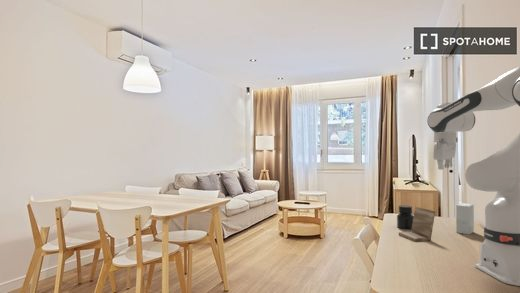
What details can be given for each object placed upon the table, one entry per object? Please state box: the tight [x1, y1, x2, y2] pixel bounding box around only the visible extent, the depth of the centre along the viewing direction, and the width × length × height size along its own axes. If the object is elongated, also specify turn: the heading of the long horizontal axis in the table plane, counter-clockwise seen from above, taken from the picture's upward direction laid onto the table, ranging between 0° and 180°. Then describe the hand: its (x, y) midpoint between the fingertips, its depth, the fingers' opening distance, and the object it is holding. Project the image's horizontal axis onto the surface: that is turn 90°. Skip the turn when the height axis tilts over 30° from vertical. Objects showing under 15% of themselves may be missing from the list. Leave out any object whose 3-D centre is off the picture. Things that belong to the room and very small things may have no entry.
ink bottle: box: [396, 204, 414, 230], centre depth 173 cm, size 10×9×12 cm
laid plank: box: [398, 230, 429, 243], centre depth 151 cm, size 7×12×2 cm, turn 12°
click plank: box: [410, 206, 436, 241], centre depth 153 cm, size 2×12×14 cm, turn 11°
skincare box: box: [455, 202, 475, 236], centre depth 161 cm, size 8×6×15 cm
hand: (443, 168), depth 141 cm, fingers open, 8 cm apart
